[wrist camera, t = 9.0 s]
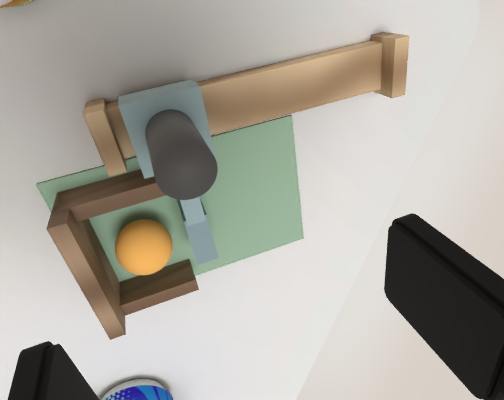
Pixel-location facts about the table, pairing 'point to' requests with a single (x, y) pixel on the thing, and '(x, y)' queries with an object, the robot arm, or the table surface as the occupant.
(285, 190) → the felt mat
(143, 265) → the ball
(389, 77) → the rail
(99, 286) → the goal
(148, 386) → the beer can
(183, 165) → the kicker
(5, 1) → the supplement bottle
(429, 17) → the table surface
